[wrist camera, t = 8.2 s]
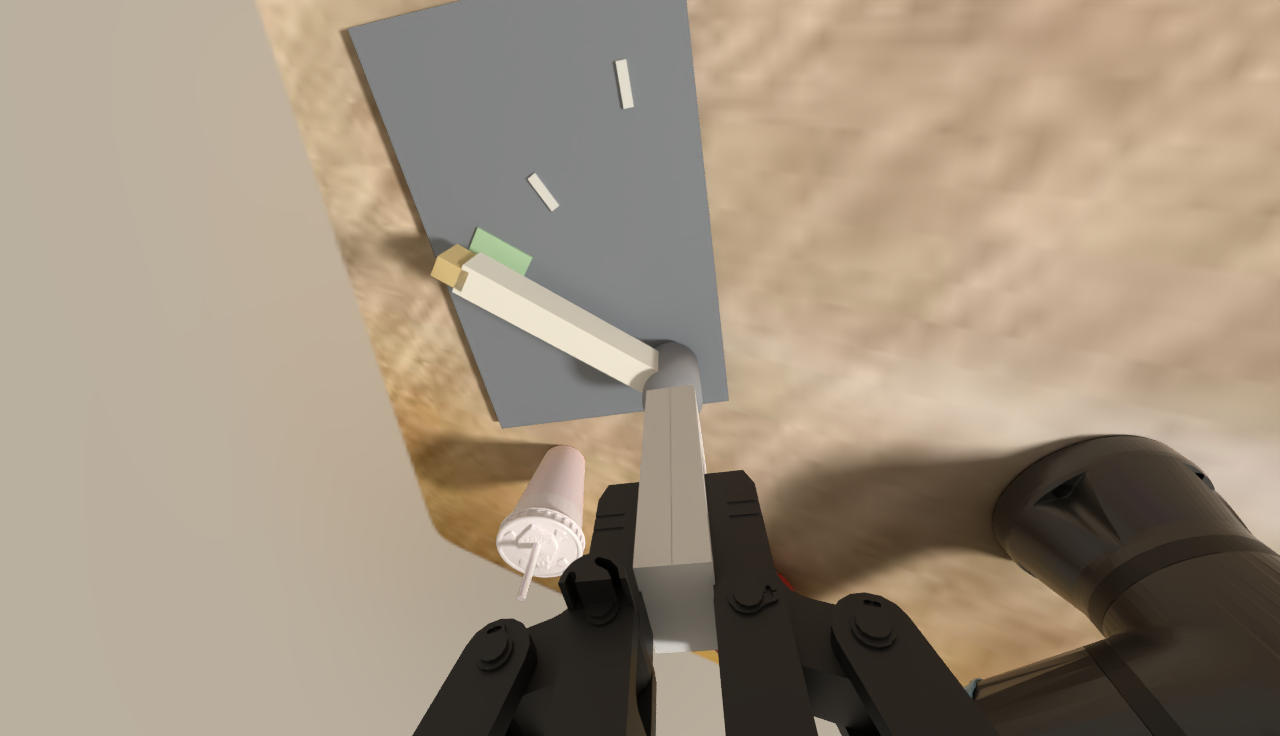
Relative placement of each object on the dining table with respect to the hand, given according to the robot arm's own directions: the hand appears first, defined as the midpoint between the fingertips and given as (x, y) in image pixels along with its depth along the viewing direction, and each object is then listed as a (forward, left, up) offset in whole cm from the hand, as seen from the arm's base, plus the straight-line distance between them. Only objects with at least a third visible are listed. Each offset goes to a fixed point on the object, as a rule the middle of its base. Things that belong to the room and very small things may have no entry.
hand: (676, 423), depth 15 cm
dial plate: (+2, +7, -20) cm, 21 cm away
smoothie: (-17, +12, -21) cm, 29 cm away
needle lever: (-3, +7, -19) cm, 20 cm away
